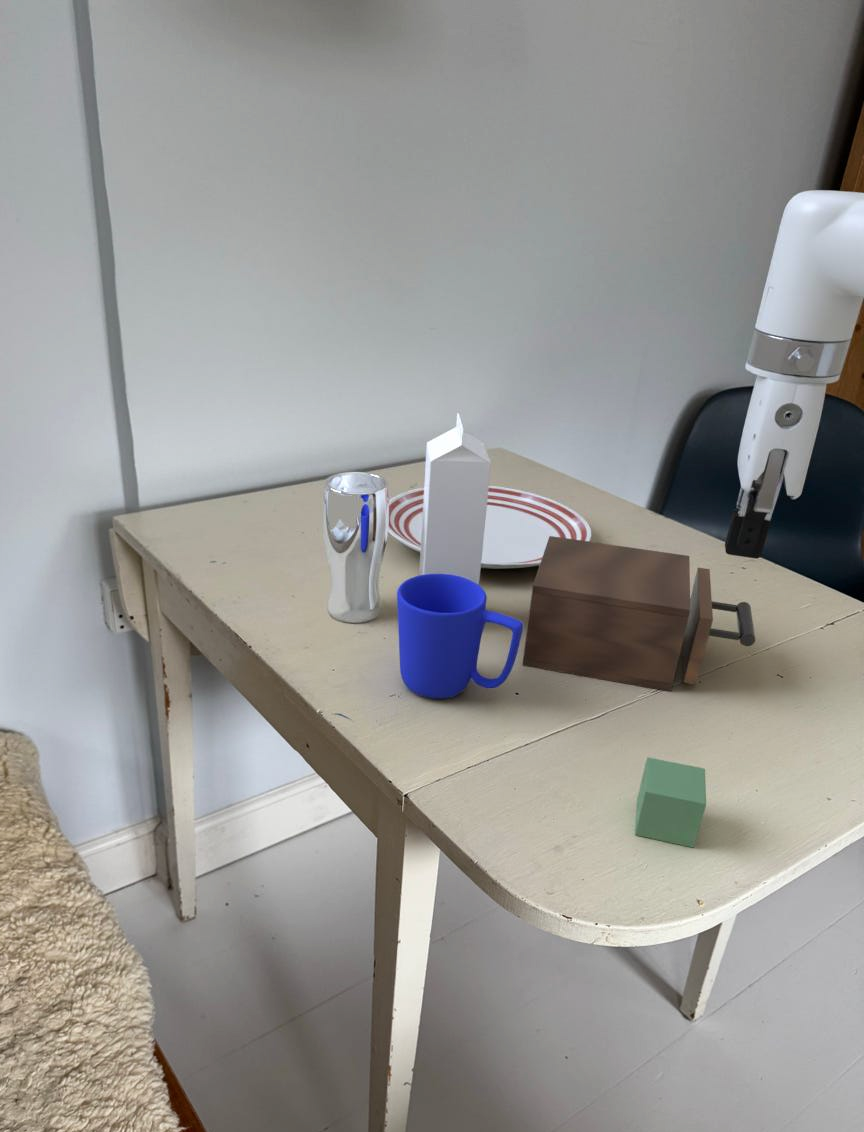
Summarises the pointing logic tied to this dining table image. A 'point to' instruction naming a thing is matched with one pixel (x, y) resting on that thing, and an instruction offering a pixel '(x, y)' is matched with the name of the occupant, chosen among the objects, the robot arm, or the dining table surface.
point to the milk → (454, 505)
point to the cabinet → (609, 612)
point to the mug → (446, 635)
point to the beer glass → (355, 543)
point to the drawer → (702, 622)
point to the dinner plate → (499, 525)
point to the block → (670, 802)
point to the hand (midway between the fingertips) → (741, 552)
